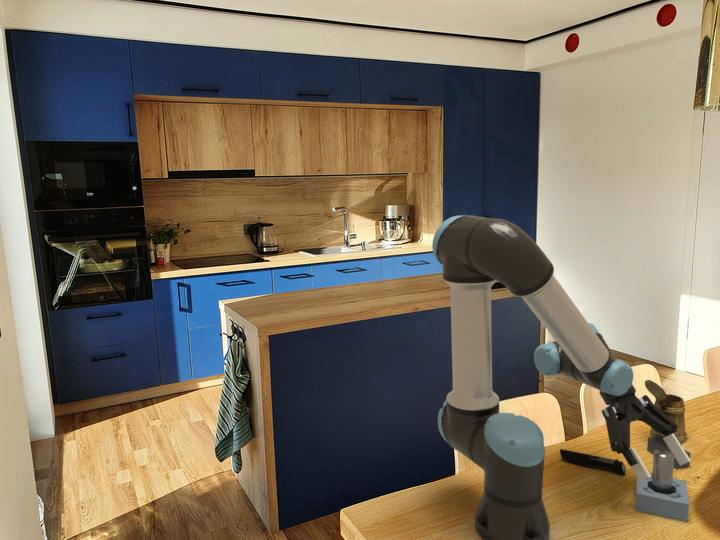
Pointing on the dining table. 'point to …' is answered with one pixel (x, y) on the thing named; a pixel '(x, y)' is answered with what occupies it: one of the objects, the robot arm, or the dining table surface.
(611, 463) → the electric trimmer
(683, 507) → the bore block
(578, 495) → the dining table surface
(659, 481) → the ball
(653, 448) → the square bar
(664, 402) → the wooden mug
